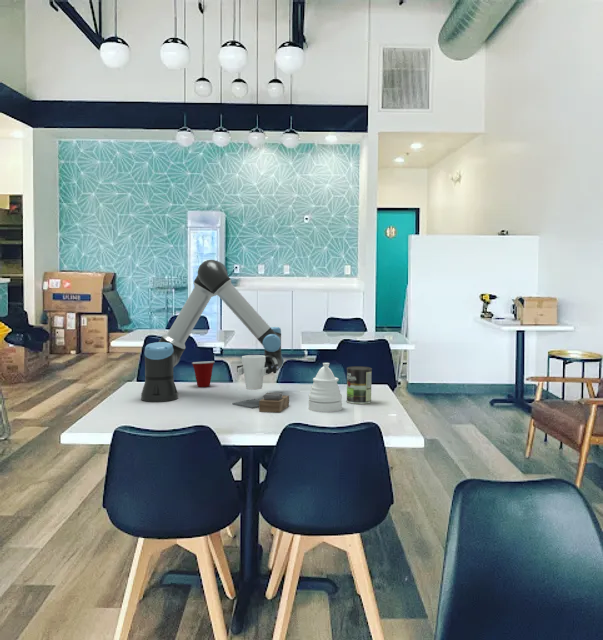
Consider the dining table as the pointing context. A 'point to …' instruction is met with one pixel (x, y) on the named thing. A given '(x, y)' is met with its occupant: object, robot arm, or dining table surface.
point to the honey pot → (325, 392)
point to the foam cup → (253, 371)
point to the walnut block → (273, 402)
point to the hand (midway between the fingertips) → (250, 372)
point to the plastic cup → (203, 372)
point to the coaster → (248, 403)
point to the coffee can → (359, 385)
